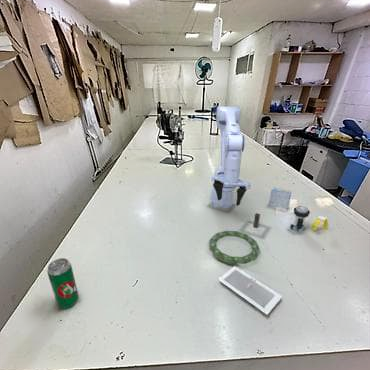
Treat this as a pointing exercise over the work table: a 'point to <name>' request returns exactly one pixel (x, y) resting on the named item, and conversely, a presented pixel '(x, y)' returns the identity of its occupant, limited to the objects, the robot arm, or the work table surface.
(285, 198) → the medicine box
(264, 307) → the touchpad
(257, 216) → the peg
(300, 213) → the push button
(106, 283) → the work table surface
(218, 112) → the robot arm
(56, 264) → the soda can
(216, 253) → the ring
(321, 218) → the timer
